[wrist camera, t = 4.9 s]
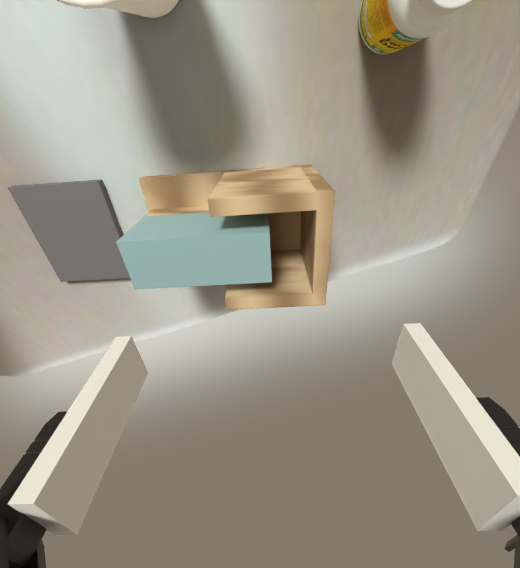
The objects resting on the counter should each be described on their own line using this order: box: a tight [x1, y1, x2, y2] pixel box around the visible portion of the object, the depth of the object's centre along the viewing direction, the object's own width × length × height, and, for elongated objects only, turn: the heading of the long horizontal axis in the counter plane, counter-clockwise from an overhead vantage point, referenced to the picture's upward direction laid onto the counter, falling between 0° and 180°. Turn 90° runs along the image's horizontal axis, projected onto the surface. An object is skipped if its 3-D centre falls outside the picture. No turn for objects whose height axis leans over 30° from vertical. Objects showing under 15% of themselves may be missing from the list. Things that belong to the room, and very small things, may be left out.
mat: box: [8, 180, 130, 282], centre depth 32 cm, size 10×12×1 cm
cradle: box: [139, 165, 335, 310], centre depth 26 cm, size 18×10×11 cm, turn 94°
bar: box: [116, 212, 272, 289], centre depth 24 cm, size 12×4×6 cm, turn 94°
